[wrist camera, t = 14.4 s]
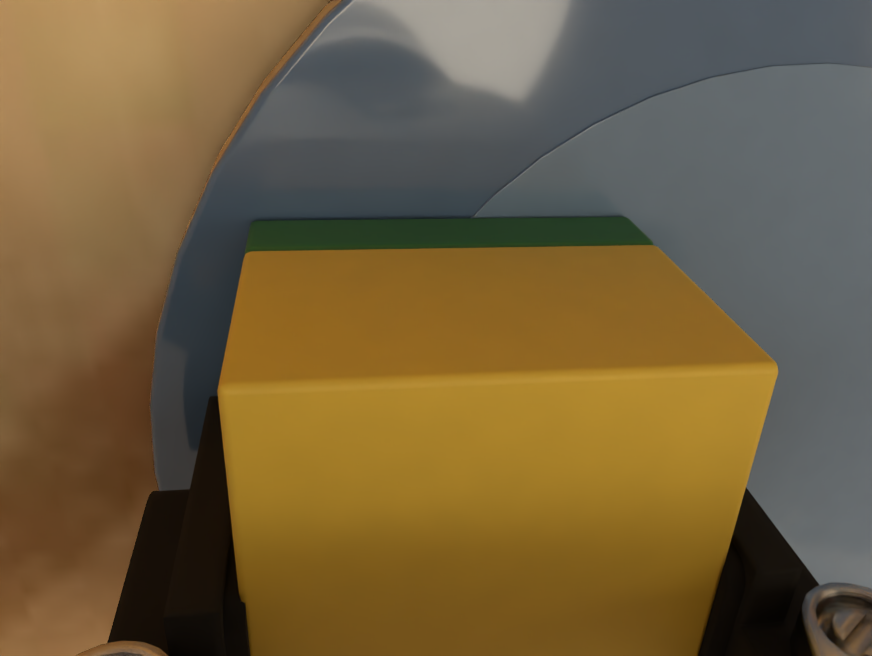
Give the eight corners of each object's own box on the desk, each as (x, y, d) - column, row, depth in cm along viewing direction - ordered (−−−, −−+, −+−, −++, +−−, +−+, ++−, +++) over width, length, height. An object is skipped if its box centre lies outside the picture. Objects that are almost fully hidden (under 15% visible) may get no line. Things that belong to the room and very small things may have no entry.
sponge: (282, 656, 14) (272, 914, 10) (249, 218, 10) (216, 386, 6) (561, 632, 14) (642, 866, 11) (628, 214, 11) (785, 365, 7)
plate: (214, 784, 17) (208, 835, 16) (63, -271, 8) (32, -293, 7) (974, 704, 19) (1007, 745, 18) (1448, -163, 11) (1553, -170, 10)
